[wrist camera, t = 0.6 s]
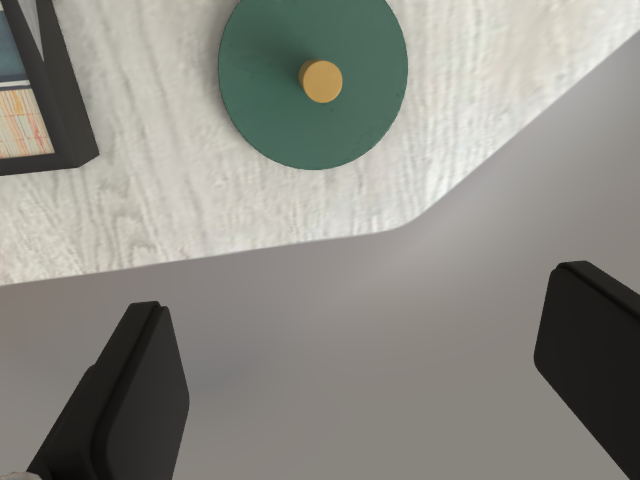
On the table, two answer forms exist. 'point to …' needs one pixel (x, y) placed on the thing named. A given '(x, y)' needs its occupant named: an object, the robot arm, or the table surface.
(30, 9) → the dagger
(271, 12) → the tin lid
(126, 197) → the table surface
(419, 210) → the table surface
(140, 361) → the robot arm
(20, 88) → the framed painting
